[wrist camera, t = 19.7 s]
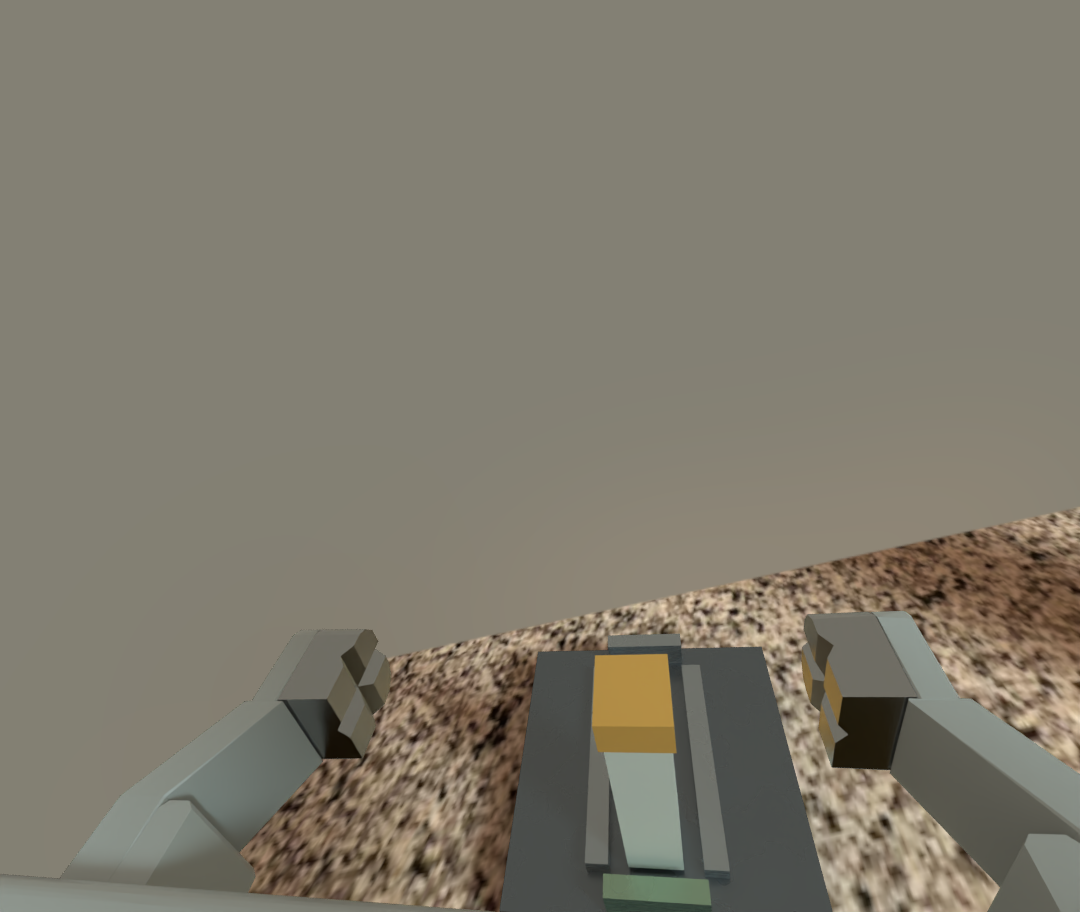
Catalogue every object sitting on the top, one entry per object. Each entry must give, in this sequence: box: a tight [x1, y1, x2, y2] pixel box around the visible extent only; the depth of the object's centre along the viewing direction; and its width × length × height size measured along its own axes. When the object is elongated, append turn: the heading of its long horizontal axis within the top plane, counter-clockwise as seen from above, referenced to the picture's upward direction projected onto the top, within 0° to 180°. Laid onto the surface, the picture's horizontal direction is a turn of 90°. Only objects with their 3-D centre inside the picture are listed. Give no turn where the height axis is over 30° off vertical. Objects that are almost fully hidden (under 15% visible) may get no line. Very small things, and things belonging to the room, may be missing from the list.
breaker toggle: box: [592, 654, 684, 870], centre depth 26 cm, size 3×3×12 cm
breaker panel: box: [500, 634, 832, 912], centre depth 33 cm, size 16×16×5 cm
